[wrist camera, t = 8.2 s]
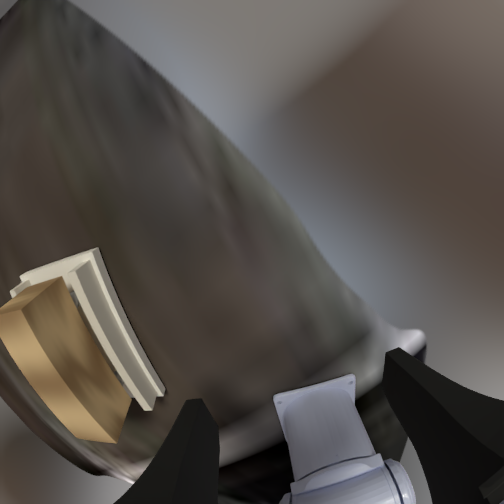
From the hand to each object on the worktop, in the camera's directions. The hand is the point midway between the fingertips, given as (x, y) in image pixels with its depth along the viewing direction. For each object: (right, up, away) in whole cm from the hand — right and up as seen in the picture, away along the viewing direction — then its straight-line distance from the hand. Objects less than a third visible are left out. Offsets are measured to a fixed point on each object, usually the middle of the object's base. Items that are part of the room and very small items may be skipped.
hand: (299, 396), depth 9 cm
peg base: (-16, -2, +11) cm, 19 cm away
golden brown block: (-16, -2, +8) cm, 18 cm away
